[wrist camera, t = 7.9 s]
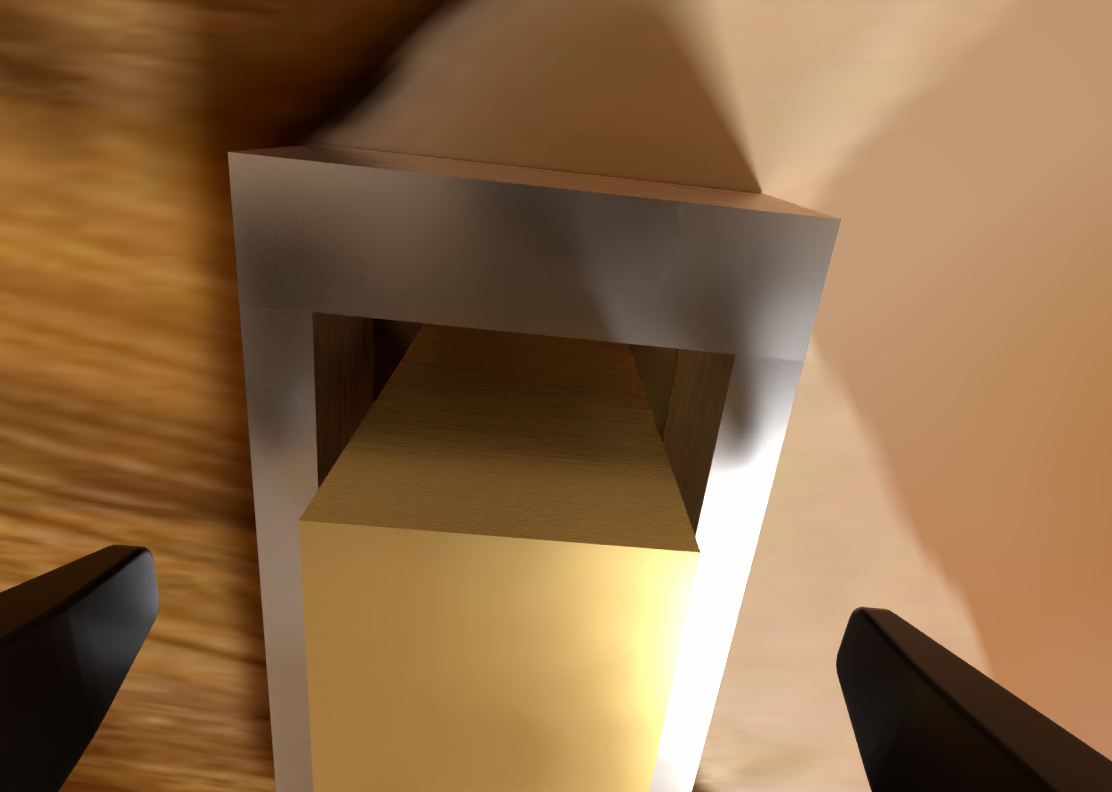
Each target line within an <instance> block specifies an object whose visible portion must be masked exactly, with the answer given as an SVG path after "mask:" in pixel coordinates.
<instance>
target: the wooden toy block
mask: <svg viewBox="0 0 1112 792" xmlns="http://www.w3.org/2000/svg"><path fill="white" fill-rule="evenodd" d="M298 521H299V539H300V557H301V575H302V593H303V611H304V629H305V647H306V665H307V683H308V701H309V719H310V737H311V755H312V773H313V791H314V792H649V791H650V786H651V782H652V777H653V772H654V768H655V763H656V758H657V754H658V749H659V744H660V740H661V735H662V730H663V726H664V721H665V717H666V712H667V707H668V703H669V698H670V693H671V689H672V684H673V679H674V675H675V670H676V665H677V661H678V656H679V652H680V647H681V642H682V638H683V633H684V628H685V624H686V619H687V614H688V610H689V605H690V600H691V596H692V591H693V586H694V582H695V577H696V573H697V568H698V563H699V559H700V554H701V552H700V549H699V546H698V543H697V540H696V537H695V534H694V532H693V529H692V526H691V523H690V520H689V517H688V514H687V511H686V509H685V506H684V503H683V500H682V497H681V494H680V491H679V488H678V485H677V483H676V480H675V477H674V474H673V471H672V468H671V465H670V462H669V459H668V457H667V454H666V451H665V448H664V445H663V442H662V439H661V436H660V434H659V431H658V428H657V425H656V422H655V419H654V416H653V413H652V410H651V408H650V405H649V402H648V399H647V396H646V393H645V390H644V387H643V384H642V382H641V379H640V376H639V373H638V370H637V367H636V364H635V361H634V359H633V356H632V353H631V350H630V347H629V344H627V343H617V342H607V341H597V340H587V339H577V338H567V337H557V336H547V335H537V334H527V333H517V332H507V331H497V330H487V329H477V328H467V327H457V326H448V325H438V324H427V323H425V324H424V326H423V327H422V329H421V330H420V332H419V333H418V335H417V337H416V338H415V340H414V341H413V343H412V344H411V346H410V347H409V349H408V351H407V352H406V354H405V355H404V357H403V358H402V360H401V361H400V363H399V365H398V366H397V368H396V369H395V371H394V372H393V374H392V376H391V377H390V379H389V380H388V382H387V383H386V385H385V386H384V388H383V390H382V391H381V393H380V394H379V396H378V397H377V399H376V400H375V402H374V404H373V405H372V407H371V408H370V410H369V411H368V413H367V414H366V416H365V418H364V419H363V421H362V422H361V424H360V425H359V427H358V428H357V430H356V432H355V433H354V435H353V436H352V438H351V439H350V441H349V442H348V444H347V446H346V447H345V449H344V450H343V452H342V453H341V455H340V457H339V458H338V460H337V461H336V463H335V464H334V466H333V467H332V469H331V471H330V472H329V474H328V475H327V477H326V478H325V480H324V481H323V483H322V485H321V486H320V488H319V489H318V491H317V492H316V494H315V495H314V497H313V499H312V500H311V502H310V503H309V505H308V506H307V508H306V509H305V511H304V513H303V514H302V516H301V517H300V519H299V520H298Z"/></svg>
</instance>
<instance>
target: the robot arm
mask: <svg viewBox="0 0 1112 792" xmlns="http://www.w3.org/2000/svg"><path fill="white" fill-rule="evenodd" d="M158 609H159V595H158V588H157V581H156V575H155V568H154V561H153V557H152V554H151V552H150V551H149V550H148V549H147V548H145V547H139V546H128V545H111V546H108V547H106V548H103V549H101V550H99V551H96V552H94V553H92V554H89V555H87V556H85V557H82V558H80V559H78V560H75V561H73V562H71V563H68V564H66V565H64V566H61V567H59V568H57V569H54V570H52V571H50V572H47V573H45V574H43V575H40V576H38V577H36V578H33V579H31V580H29V581H26V582H24V583H22V584H19V585H17V586H15V587H12V588H10V589H8V590H5V591H3V592H1V593H0V792H58V791H59V790H60V788H61V787H62V785H63V784H64V782H65V781H66V779H67V777H68V776H69V774H70V773H71V771H72V770H73V768H74V767H75V765H76V764H77V762H78V761H79V759H80V758H81V756H82V754H83V753H84V751H85V750H86V748H87V746H88V745H89V743H90V742H91V740H92V738H93V737H94V735H95V733H96V732H97V730H98V728H99V726H100V724H101V723H102V721H103V719H104V717H105V715H106V713H107V712H108V710H109V708H110V706H111V704H112V702H113V700H114V698H115V696H116V694H117V692H118V690H119V689H120V687H121V685H122V683H123V681H124V679H125V677H126V675H127V673H128V671H129V669H130V667H131V665H132V664H133V662H134V660H135V658H136V656H137V654H138V652H139V650H140V648H141V646H142V644H143V642H144V641H145V639H146V637H147V635H148V633H149V631H150V629H151V627H152V625H153V623H154V621H155V619H156V616H157V613H158ZM836 668H837V674H838V678H839V682H840V685H841V689H842V692H843V696H844V699H845V703H846V706H847V710H848V713H849V717H850V720H851V724H852V727H853V730H854V734H855V737H856V741H857V744H858V748H859V751H860V755H861V758H862V762H863V765H864V769H865V772H866V775H867V778H868V782H869V785H870V788H871V791H872V792H1112V761H1111V760H1109V759H1108V758H1106V757H1105V756H1103V755H1102V754H1100V753H1099V752H1097V751H1096V750H1094V749H1093V748H1091V747H1090V746H1088V745H1087V744H1086V743H1084V742H1083V741H1081V740H1080V739H1078V738H1077V737H1075V736H1074V735H1072V734H1071V733H1069V732H1068V731H1066V730H1065V729H1063V728H1062V727H1061V726H1059V725H1058V724H1056V723H1054V722H1053V721H1052V720H1050V719H1049V718H1047V717H1046V716H1044V715H1043V714H1041V713H1040V712H1039V711H1037V710H1036V709H1034V708H1032V707H1031V706H1030V705H1028V704H1027V703H1025V702H1024V701H1022V700H1021V699H1019V698H1018V697H1017V696H1015V695H1014V694H1012V693H1011V692H1009V691H1008V690H1006V689H1005V688H1003V687H1002V686H1000V685H999V684H997V683H996V682H994V681H993V680H992V679H990V678H989V677H987V676H986V675H984V674H983V673H981V672H980V671H978V670H977V669H975V668H974V667H972V666H971V665H970V664H968V663H967V662H965V661H964V660H962V659H961V658H959V657H958V656H956V655H955V654H953V653H952V652H950V651H949V650H947V649H946V648H945V647H943V646H942V645H940V644H939V643H937V642H936V641H934V640H933V639H931V638H930V637H928V636H927V635H925V634H924V633H923V632H921V631H920V630H918V629H917V628H915V627H914V626H912V625H911V624H909V623H908V622H906V621H905V620H903V619H902V618H900V617H899V616H898V615H896V614H895V613H893V612H891V611H890V610H887V609H880V608H867V607H859V608H856V609H855V610H854V611H853V612H852V614H851V616H850V618H849V621H848V624H847V627H846V630H845V633H844V636H843V639H842V642H841V645H840V648H839V651H838V654H837V660H836Z"/></svg>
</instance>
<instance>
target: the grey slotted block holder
mask: <svg viewBox="0 0 1112 792" xmlns="http://www.w3.org/2000/svg"><path fill="white" fill-rule="evenodd" d="M228 162H229V175H230V188H231V201H232V214H233V228H234V241H235V254H236V267H237V281H238V294H239V307H240V320H241V334H242V347H243V360H244V373H245V387H246V400H247V413H248V426H249V439H250V453H251V466H252V479H253V492H254V506H255V519H256V532H257V545H258V559H259V572H260V585H261V598H262V612H263V625H264V638H265V651H266V664H267V678H268V691H269V704H270V717H271V731H272V744H273V757H274V770H275V784H276V792H314V791H313V773H312V755H311V737H310V719H309V701H308V683H307V665H306V647H305V629H304V611H303V593H302V575H301V557H300V539H299V521H298V520H299V519H300V517H301V516H302V514H303V513H304V511H305V509H306V508H307V506H308V505H309V503H310V502H311V500H312V499H313V497H314V495H315V494H316V492H317V491H318V489H319V488H320V486H321V485H322V483H323V481H324V480H325V478H326V477H327V475H328V474H329V472H330V471H331V469H332V467H333V466H334V464H335V463H336V461H337V460H338V458H339V457H340V455H341V453H342V452H343V450H344V449H345V447H346V446H347V444H348V442H349V441H350V439H351V438H352V436H353V435H354V433H355V432H356V430H357V428H358V427H359V425H360V424H361V422H362V421H363V419H364V418H365V416H366V414H367V413H368V411H369V410H370V408H371V407H372V405H373V404H374V318H378V319H388V320H398V321H408V322H418V323H428V324H438V325H448V326H457V327H467V328H477V329H487V330H497V331H507V332H517V333H527V334H537V335H547V336H557V337H567V338H577V339H587V340H597V341H607V342H617V343H627V344H637V345H647V346H657V347H667V348H677V349H679V354H678V360H677V365H676V371H675V376H674V381H673V387H672V392H671V398H670V403H669V408H668V414H667V419H666V425H665V430H664V435H663V441H662V442H663V445H664V448H665V451H666V454H667V457H668V459H669V462H670V465H671V468H672V471H673V474H674V477H675V480H676V483H677V485H678V488H679V491H680V494H681V497H682V500H683V503H684V506H685V509H686V511H687V514H688V517H689V520H690V523H691V526H692V529H693V532H694V534H695V537H696V540H697V543H698V546H699V549H700V552H701V554H700V559H699V563H698V568H697V573H696V577H695V582H694V586H693V591H692V596H691V600H690V605H689V610H688V614H687V619H686V624H685V628H684V633H683V638H682V642H681V647H680V652H679V656H678V661H677V665H676V670H675V675H674V679H673V684H672V689H671V693H670V698H669V703H668V707H667V712H666V717H665V721H664V726H663V730H662V735H661V740H660V744H659V749H658V754H657V758H656V763H655V768H654V772H653V777H652V782H651V786H650V791H649V792H692V789H693V785H694V781H695V777H696V773H697V769H698V766H699V762H700V758H701V754H702V750H703V746H704V743H705V739H706V735H707V731H708V727H709V723H710V720H711V716H712V712H713V708H714V704H715V700H716V697H717V693H718V689H719V685H720V681H721V677H722V674H723V670H724V666H725V662H726V658H727V654H728V651H729V647H730V643H731V639H732V635H733V631H734V628H735V624H736V620H737V616H738V612H739V608H740V605H741V601H742V597H743V593H744V589H745V585H746V582H747V578H748V574H749V570H750V566H751V562H752V559H753V555H754V551H755V547H756V543H757V539H758V536H759V532H760V528H761V524H762V520H763V516H764V513H765V509H766V505H767V501H768V497H769V493H770V490H771V486H772V482H773V478H774V474H775V470H776V467H777V463H778V459H779V455H780V451H781V447H782V444H783V440H784V436H785V432H786V428H787V424H788V420H789V417H790V413H791V409H792V405H793V401H794V397H795V394H796V390H797V386H798V382H799V378H800V374H801V371H802V367H803V363H804V359H805V355H806V351H807V348H808V344H809V340H810V336H811V332H812V328H813V325H814V321H815V316H816V313H817V309H818V305H819V302H820V298H821V294H822V290H823V286H824V282H825V279H826V275H827V271H828V267H829V263H830V259H831V256H832V251H833V248H834V244H835V240H836V236H837V233H838V228H839V225H840V221H841V219H838V218H835V217H832V216H829V215H826V214H823V213H820V212H817V211H814V210H811V209H808V208H805V207H802V206H799V205H796V204H793V203H790V202H787V201H784V200H781V199H778V198H775V197H772V196H769V195H766V194H761V193H752V192H743V191H734V190H725V189H716V188H707V187H698V186H689V185H680V184H671V183H662V182H653V181H644V180H635V179H626V178H617V177H608V176H599V175H590V174H581V173H572V172H563V171H554V170H545V169H536V168H527V167H519V166H510V165H501V164H492V163H483V162H474V161H465V160H456V159H447V158H438V157H429V156H420V155H411V154H402V153H393V152H384V151H375V150H366V149H357V148H348V147H339V146H330V145H321V144H314V145H302V146H290V147H278V148H267V149H255V150H243V151H232V152H228Z"/></svg>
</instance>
